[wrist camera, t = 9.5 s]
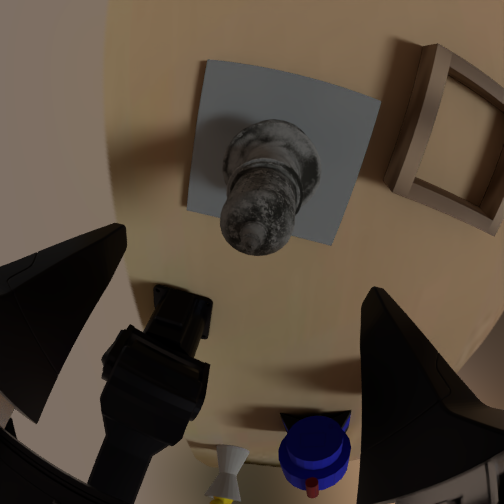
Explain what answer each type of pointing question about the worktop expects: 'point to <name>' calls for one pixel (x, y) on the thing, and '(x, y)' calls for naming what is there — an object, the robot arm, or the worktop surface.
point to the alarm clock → (315, 451)
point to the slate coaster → (291, 110)
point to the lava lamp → (227, 475)
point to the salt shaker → (267, 185)
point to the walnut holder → (419, 130)
